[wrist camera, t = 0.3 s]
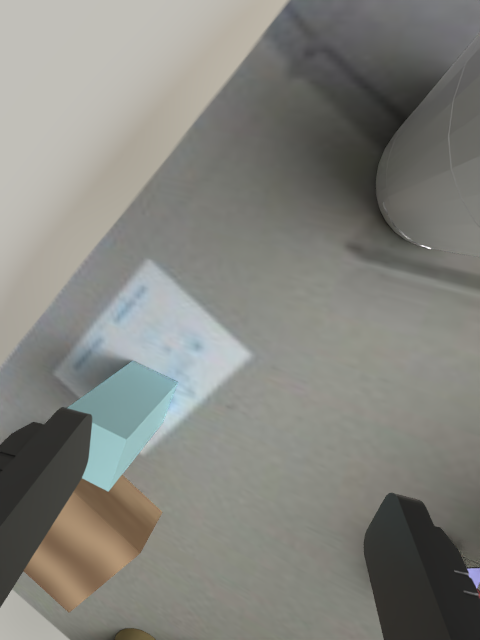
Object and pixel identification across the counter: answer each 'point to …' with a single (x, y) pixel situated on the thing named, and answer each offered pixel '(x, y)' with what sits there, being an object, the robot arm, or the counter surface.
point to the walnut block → (92, 540)
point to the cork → (133, 635)
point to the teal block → (123, 419)
